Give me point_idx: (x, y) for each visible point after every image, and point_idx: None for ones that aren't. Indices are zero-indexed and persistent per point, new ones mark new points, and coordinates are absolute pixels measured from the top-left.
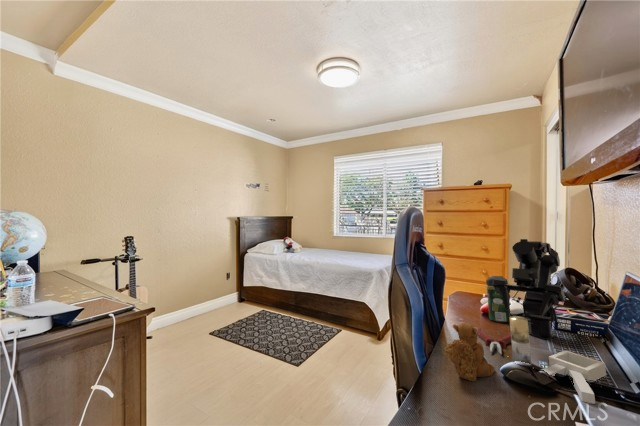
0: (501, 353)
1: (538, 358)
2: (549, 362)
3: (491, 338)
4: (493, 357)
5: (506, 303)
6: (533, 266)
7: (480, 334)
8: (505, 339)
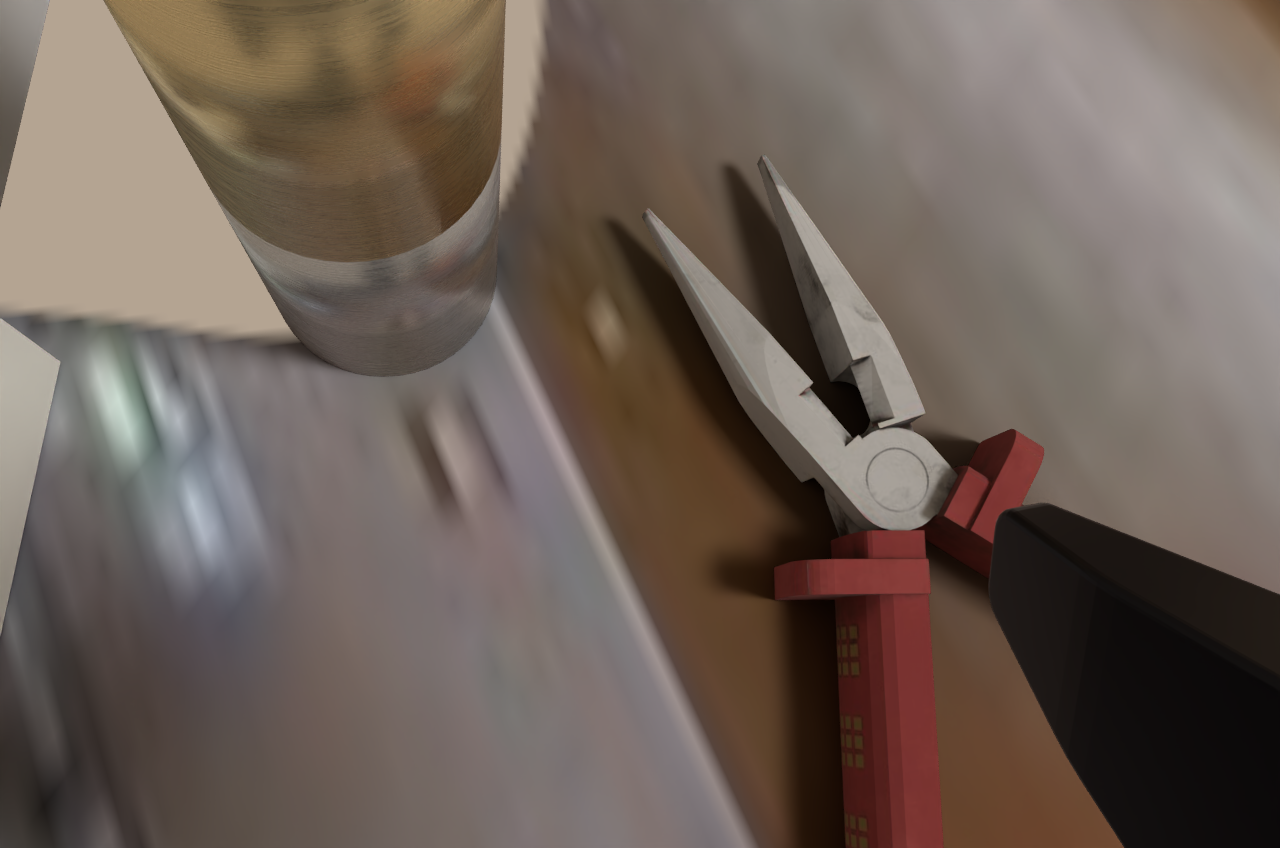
0: (648, 217)
1: (297, 620)
2: (17, 336)
3: None
4: (694, 128)
5: (1155, 588)
6: None
7: None
8: (878, 763)
